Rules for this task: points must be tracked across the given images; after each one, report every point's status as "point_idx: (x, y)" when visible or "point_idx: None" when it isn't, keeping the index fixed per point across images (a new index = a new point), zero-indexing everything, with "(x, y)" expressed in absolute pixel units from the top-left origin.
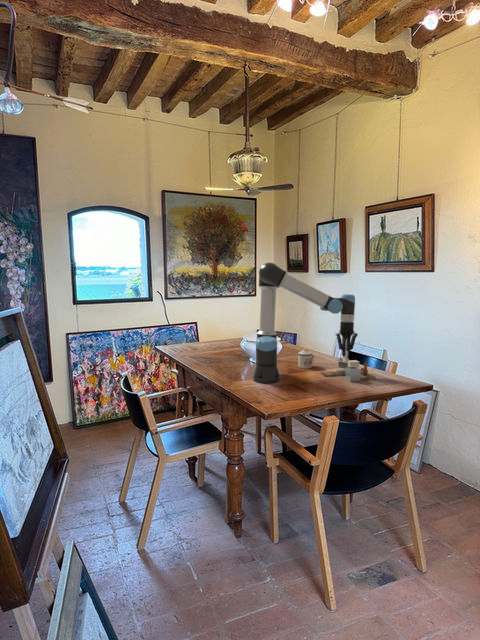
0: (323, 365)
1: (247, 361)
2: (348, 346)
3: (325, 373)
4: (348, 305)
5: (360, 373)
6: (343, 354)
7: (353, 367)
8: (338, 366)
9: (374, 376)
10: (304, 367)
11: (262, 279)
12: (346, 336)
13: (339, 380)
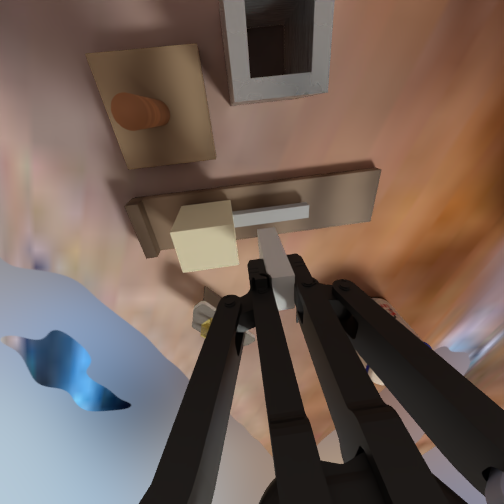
0: (290, 333)
1: (481, 361)
2: (273, 316)
3: (361, 200)
4: None
5: None
6: (299, 262)
7: (260, 78)
8: None
9: (93, 65)
10: (382, 300)
11: None
12: (388, 482)
13: (343, 69)
